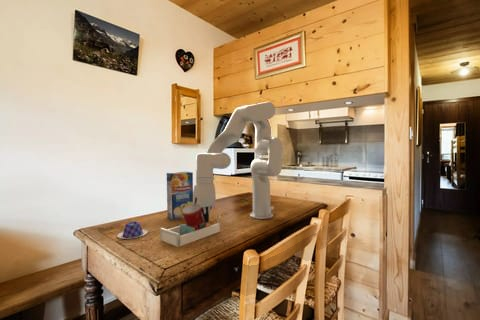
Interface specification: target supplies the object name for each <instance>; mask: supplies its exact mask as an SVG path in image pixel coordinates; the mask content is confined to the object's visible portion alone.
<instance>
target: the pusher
mask: <svg viewBox="0 0 480 320" xmlns="http://www.w3.org/2000/svg"><path fill="white" fill-rule="evenodd" d="M179 226H180V236H181V235H184V234H187V233H190V232H193V231H195V228H194V227H191V226H188V225H184V223H180V224H179Z"/></svg>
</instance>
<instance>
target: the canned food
mask: <svg viewBox="0 0 480 320" xmlns="http://www.w3.org/2000/svg"><path fill="white" fill-rule="evenodd" d="M202 209H203V208H202ZM202 209H201V206H200V205H199V206H198V205H196V204H194V205H193V204H192V205H189V206H187V207H185V208H184V209H183V210H182V213H183V216H184V218H183V219H184V222H185V224H186V225H188V226H191V227H194V228H195V231H196V230H199V229H202V228H205V227H208V226H207V224H206V223H205V219H204V216H203V213H202Z"/></svg>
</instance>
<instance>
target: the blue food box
mask: <svg viewBox="0 0 480 320" xmlns="http://www.w3.org/2000/svg"><path fill="white" fill-rule="evenodd" d="M193 191H194V172H192V171H178V172H177V171H175V172H172V171H171V172H166V204H167V205H166V207H167V208H166V209H167V213H166V214H167V218H169V219H170V220H171V221H174V220H181V219H184V216H183V213H182V210H183V209H184V208H185V207H187V206H189V205H192V204H193Z"/></svg>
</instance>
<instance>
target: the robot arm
mask: <svg viewBox="0 0 480 320" xmlns="http://www.w3.org/2000/svg"><path fill="white" fill-rule="evenodd" d="M275 106H276V105H275V104H274V103H273V102H271V101H264V102H260V103H255V104H253V103H252V104H249V105H248V104H247V105H243V106H238V107H237V108H235V109H234V111H233V112H232V114H231V116H230V118H229V120H228V122H227V124H226V126H225V128H224V130H223V131H222V132H221V133H220V134H219V135H218V136H217V137H216V138H215V139H213V141H212V143H210V145H209V146H208V149H207V151H206V152H202V153H201V152H200V153H197V154H196V156H195V180H196V181H195V184H194V185H193V205H194V204H196V205H198V206H199V205H200V206H201V209H202V213H203V216H204V219H205V223H209V222H210V215H209V214H210V213H211V210H212V208H215V204H216V201H217V200H216V199H217V198H216V188H215V183H214V181H215V177H214V170H215V169H216V170H223V169H227V168H228V167H229V166H230V165H231V162H232V160H231V156H230V155H229V154H228V153H226V152H223V151H224V150H225V149H227V148H228V147H230V146H232V145H233V144H235V143H236V142H238V141H239V140H240V139H241V136H242V135H243V133H244V131H245V129H246V126H247V125H248V124H253V126H254V152H255V153H256V155H260V156H268V157H257V158H255V159H253V160H252V161H251V163H250V173H251V178H252V211H251V212H250V213H249V216H250V218H253V219H257V220H266V219H272V218H273V217H274V213H272V211H273V210H274V209H275V206H274V205H273V206H271V181H270V179H269V177H272V178H274V177H278V176H279V175H280V174H281V172H282V170H283V169H282V167H283V157H284V155H283V154H284V153H283V152H284V151H283V150H284V149H283V148H284V145H283V143H282V141H281V139H280V138H279V137H277V136H276V137H275V136H272V129H271V128H272V127H271V125H270V124H271V123H270V122H269V121H268V120H271V119H272V118H274V116H275V114H276V111H277V110H276V107H275Z"/></svg>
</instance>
